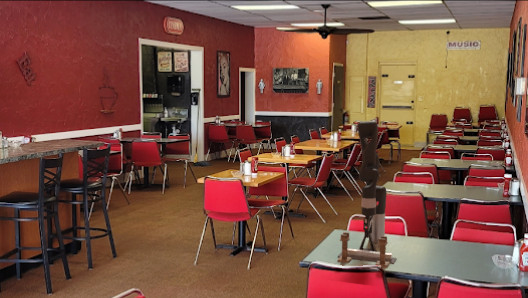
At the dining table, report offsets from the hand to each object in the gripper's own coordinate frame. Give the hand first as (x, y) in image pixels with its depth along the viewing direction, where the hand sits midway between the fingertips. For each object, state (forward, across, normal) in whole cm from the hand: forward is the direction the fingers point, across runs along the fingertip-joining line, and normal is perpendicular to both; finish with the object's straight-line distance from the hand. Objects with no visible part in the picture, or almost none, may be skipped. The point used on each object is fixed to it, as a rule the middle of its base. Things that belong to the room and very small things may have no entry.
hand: (368, 235), depth 305 cm
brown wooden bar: (+12, 0, 0) cm, 12 cm away
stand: (+12, +10, -1) cm, 16 cm away
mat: (+12, 0, 0) cm, 13 cm away
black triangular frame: (+13, -14, -3) cm, 20 cm away
